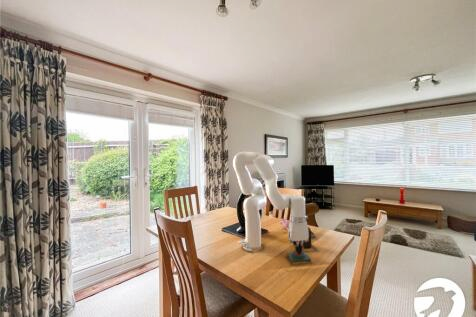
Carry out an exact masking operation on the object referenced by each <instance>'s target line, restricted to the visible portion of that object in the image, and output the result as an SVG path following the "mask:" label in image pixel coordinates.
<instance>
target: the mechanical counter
mask: <svg viewBox="0 0 476 317" xmlns="http://www.w3.org/2000/svg"><path fill="white" fill-rule="evenodd" d="M308 230H311V228H310V227H309V226H308ZM316 238H317V236H316V235H315V233H314V232H313V231H312V230H311V239H316Z"/></svg>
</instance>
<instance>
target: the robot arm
mask: <svg viewBox="0 0 476 317" xmlns="http://www.w3.org/2000/svg"><path fill="white" fill-rule="evenodd" d="M249 165H250V166H251V165H252V166H254V167H255V169H256V170H257V172H258V173H259V175H260V177H261V179H262V180H263V182H264V187H265V191H264V188H263V185H262V183H261V181H260V180H259V179H258V178H252V175H251V172H250V170H249V168H248V167H247V166H249ZM273 166H274V159H273V157H271V156H270V155H268V154H264V153H261V152H256V151H240V152H237V153H236V154H235V155H234V157H233V160H232V167H233V170H234V173H235V174H236V178H237V181H238V184H239V188H240V191H241V193H242V194H243V195H245V196H248V197H247V198H245V199H244V201H243V211H244V223H245V225H244V226H245V227H244V228H245V238H244V240H238V241H237V244H238V245H240V246H241V247H243V249H244V250H245V251H247V252H250V253H251V252H253V250H255V249H259V248H261V246H262V227H261V226H262V222H261V214H260V210H262V209H264V208H265V207H266V205H267V202H268V201H267V198H268V199H269V201H270V203H271V205H272V206H273V208H275V209H276V210H278V211H283V210H286V209H287V208H290V220H288V221H289V227H288V228H287V237H288V242H289V243H290V244H292V243H294V244H295V245H294V246H295V250H296V252H297V253H298V254H302V251H303V247H304V245H303V244H304V243H305V242H307V241H309V240H308V238H309V233H308V227H309V226H308V222H307V219H309V217H308V215H306V198H305V196H303V195H299V194H297V195H294V194H291V193H283V194H281V192H280V191H279V188H278V184H277V182H278V174H277V171H275V169H274V167H273ZM265 193H266V194H265ZM249 195H251V196H249ZM266 196H267V197H266Z"/></svg>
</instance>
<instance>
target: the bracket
mask: <svg viewBox="0 0 476 317" xmlns="http://www.w3.org/2000/svg"><path fill="white" fill-rule="evenodd" d="M311 231H312V230H308V233H309V238H308V240H309V241H307V242H305V243H304V244H303V249H305V250H307V249H312V238H311V235H312V233H311Z"/></svg>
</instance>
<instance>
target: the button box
mask: <svg viewBox="0 0 476 317" xmlns="http://www.w3.org/2000/svg"><path fill="white" fill-rule="evenodd" d="M295 251H296V249H294V250H292V251H291V252H288V253H286V256H287V257H288V259H289V260H290V261H291V263H302V262H303V263H304V262H312V260H311V258H310V256H308V254H307V253H306V252H305V251H303V250H302V254H301V255H297V254H295Z"/></svg>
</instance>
